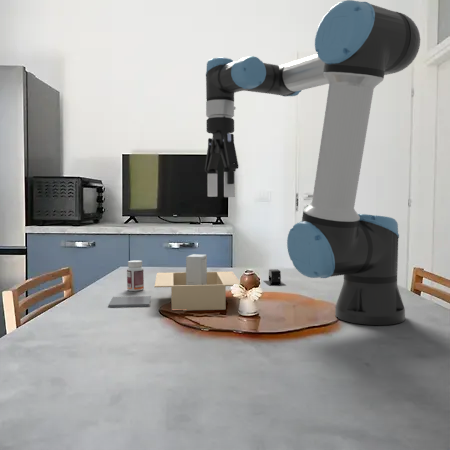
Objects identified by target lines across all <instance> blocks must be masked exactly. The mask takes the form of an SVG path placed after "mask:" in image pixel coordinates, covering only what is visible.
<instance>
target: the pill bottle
mask: <svg viewBox="0 0 450 450" xmlns="http://www.w3.org/2000/svg"><path fill="white" fill-rule="evenodd" d="M127 266H128V267H127V269H126V289H127V291H128V292H129V291H130V292H140V291H143V290H144V288H145V287H144V286H145V283H144V279H145V278H144V277H145V276H144V267H142V266H143V260H137V259H136V260H129V261H127Z"/></svg>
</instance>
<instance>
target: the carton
mask: <svg viewBox="0 0 450 450" xmlns="http://www.w3.org/2000/svg"><path fill="white" fill-rule="evenodd" d="M240 282H241V281H240V280H239V278H238V277H237V275H235V273H234V271H207V285H186V271H185V272H182V271H180V272H157V273H156V276H155V283H154V288H170V289H171V293H170V294H171V296H170V297H171V300H170V301H171V310H172V309H187V310H186V311H215V310H216V311H219V310H226V309H227V308H226V304H227V303H226V302H227V300H226V292H227V290H226V289H227V288H226V287H234V286H233V285H234V284H239V283H240Z"/></svg>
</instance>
